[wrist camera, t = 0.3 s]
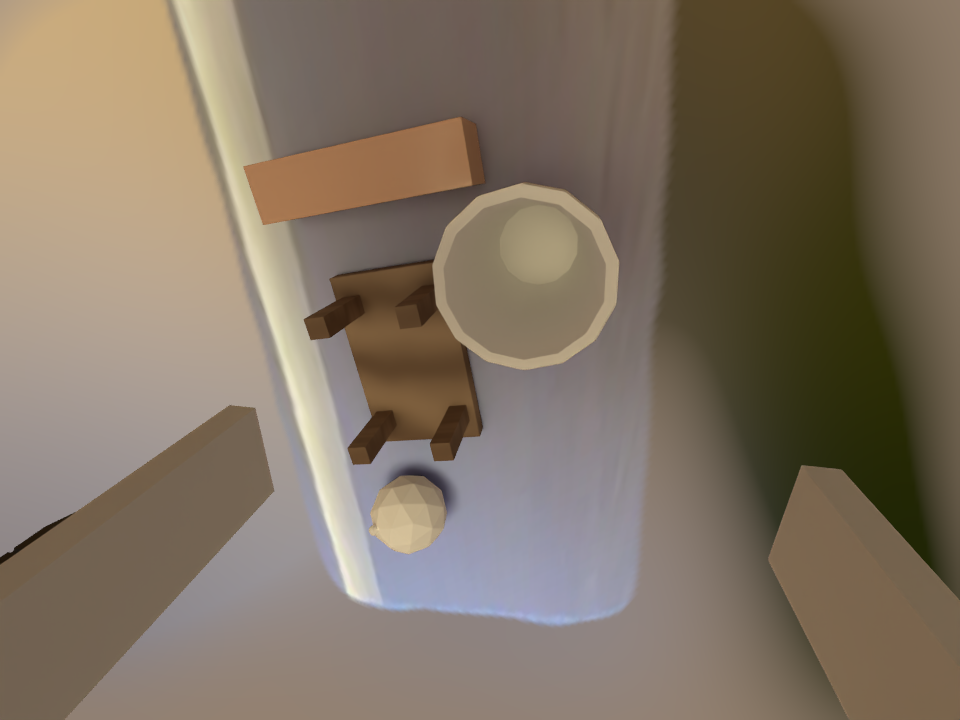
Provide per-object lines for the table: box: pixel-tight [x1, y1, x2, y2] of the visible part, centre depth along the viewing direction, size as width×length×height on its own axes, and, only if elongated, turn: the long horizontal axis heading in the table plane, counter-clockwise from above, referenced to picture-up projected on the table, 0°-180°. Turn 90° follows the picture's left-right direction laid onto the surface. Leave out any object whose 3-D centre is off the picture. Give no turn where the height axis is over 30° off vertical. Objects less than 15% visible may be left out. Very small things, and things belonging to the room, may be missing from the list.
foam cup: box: [432, 182, 619, 370], centre depth 28 cm, size 10×9×13 cm
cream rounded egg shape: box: [369, 475, 447, 554], centre depth 43 cm, size 7×7×8 cm
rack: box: [304, 260, 483, 465], centre depth 36 cm, size 16×10×8 cm, turn 10°
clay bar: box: [244, 117, 485, 225], centre depth 32 cm, size 16×4×5 cm, turn 100°
